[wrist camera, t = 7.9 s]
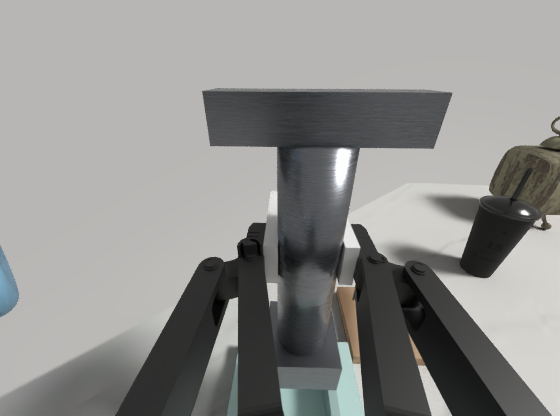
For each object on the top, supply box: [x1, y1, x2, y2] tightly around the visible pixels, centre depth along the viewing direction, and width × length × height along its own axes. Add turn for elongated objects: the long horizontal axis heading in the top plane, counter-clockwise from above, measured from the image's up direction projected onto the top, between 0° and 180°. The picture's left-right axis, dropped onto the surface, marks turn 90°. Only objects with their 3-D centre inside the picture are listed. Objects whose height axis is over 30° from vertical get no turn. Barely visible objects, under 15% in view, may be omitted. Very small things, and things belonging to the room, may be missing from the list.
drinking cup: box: [460, 168, 543, 278], centre depth 39 cm, size 8×8×20 cm
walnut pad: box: [336, 287, 425, 365], centre depth 34 cm, size 11×11×2 cm
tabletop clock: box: [489, 117, 560, 229], centre depth 54 cm, size 14×9×25 cm, turn 177°
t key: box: [202, 88, 452, 390], centre depth 14 cm, size 9×5×19 cm, turn 88°
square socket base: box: [226, 342, 364, 416], centre depth 23 cm, size 14×14×6 cm
